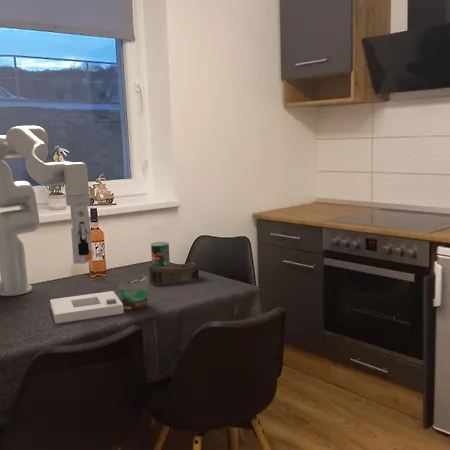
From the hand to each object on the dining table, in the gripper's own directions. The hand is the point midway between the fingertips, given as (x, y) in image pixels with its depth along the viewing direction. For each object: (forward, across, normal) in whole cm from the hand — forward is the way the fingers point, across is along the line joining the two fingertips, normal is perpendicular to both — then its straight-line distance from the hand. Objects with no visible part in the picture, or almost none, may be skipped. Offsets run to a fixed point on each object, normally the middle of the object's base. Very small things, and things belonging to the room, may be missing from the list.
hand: (82, 252), depth 185 cm
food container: (+21, -6, -17) cm, 27 cm away
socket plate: (+20, 0, 0) cm, 20 cm away
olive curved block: (+21, +23, -38) cm, 49 cm away
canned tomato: (+20, +46, -39) cm, 64 cm away
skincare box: (+3, 0, 0) cm, 3 cm away
